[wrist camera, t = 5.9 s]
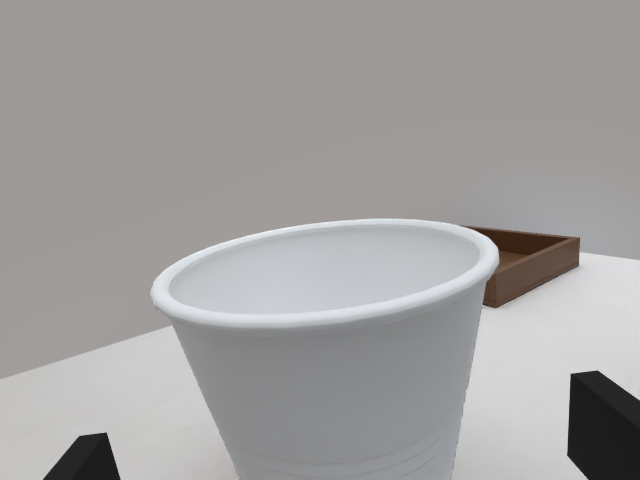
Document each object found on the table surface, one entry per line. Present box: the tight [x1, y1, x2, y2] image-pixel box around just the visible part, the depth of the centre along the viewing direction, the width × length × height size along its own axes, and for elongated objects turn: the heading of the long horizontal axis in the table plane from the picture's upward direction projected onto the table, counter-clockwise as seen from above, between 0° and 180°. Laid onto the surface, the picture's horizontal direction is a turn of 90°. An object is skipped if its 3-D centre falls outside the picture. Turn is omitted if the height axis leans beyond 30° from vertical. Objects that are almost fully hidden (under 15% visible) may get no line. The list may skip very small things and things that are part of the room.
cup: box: [150, 219, 500, 480], centre depth 12 cm, size 10×10×11 cm
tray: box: [459, 225, 580, 308], centre depth 39 cm, size 14×14×3 cm
